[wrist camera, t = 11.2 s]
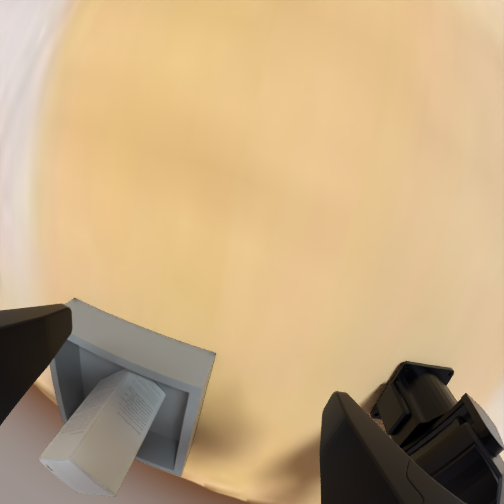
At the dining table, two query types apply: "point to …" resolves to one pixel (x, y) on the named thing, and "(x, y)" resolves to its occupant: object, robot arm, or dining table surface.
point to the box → (142, 362)
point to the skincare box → (104, 434)
